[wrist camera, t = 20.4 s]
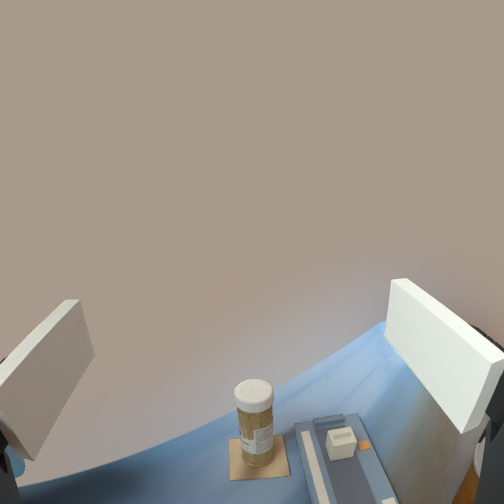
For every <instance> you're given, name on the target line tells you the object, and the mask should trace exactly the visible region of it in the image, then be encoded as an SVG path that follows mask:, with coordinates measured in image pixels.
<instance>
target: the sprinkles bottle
mask: <svg viewBox="0 0 504 504" xmlns="http://www.w3.org/2000/svg"><path fill="white" fill-rule="evenodd" d="M234 398H235V404H236V406H237V410H238V419H239V421H238V423H239V433H240V443H241V449H242V454H241V457H242V460H243V461H244V462H245V463H246V464H247V465H249V466H252V467H263V466H265V465H267V464H269V463H270V462H271V461H272V459H273V456H274V453H273V416H272V404H273V400H274V395H273V388H272V386H271V385H270V384H269V383H268V382H266V381H264V380H260V379H249V380H245V381H243V382H241V383H239V384H238V385H237V386H236V387H235V390H234Z"/></svg>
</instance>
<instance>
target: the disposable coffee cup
mask: <svg viewBox="0 0 504 504" xmlns="http://www.w3.org/2000/svg"><path fill="white" fill-rule="evenodd" d="M484 445H485V437H484V438H483V440H482V442H481V443H478V444H477V446H476V449H475V452H474V459H473V461H472V464H471V466H470V468H469V470H468V472H467V474H466V476H465V478H464V480H463V482H462V484H461V486H460V488H459V490H458V492H457V494H456V495H455V497H454V499H453V501H452V504H474V501H475V497H476V492H477V488H478V483H479V478H480V472H481V466H482V460H483V453H484Z"/></svg>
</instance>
